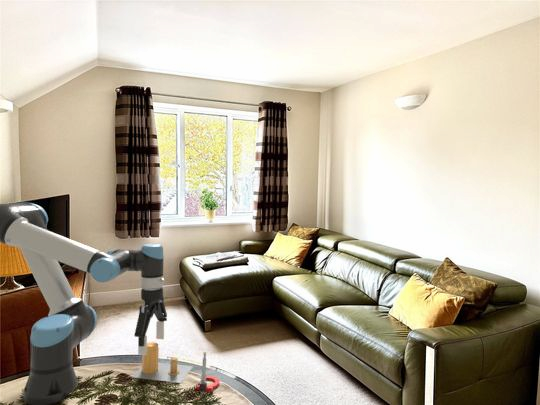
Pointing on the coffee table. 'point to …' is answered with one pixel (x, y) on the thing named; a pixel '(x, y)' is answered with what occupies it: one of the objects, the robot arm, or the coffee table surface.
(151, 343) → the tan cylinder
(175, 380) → the board
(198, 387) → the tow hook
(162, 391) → the coffee table surface
